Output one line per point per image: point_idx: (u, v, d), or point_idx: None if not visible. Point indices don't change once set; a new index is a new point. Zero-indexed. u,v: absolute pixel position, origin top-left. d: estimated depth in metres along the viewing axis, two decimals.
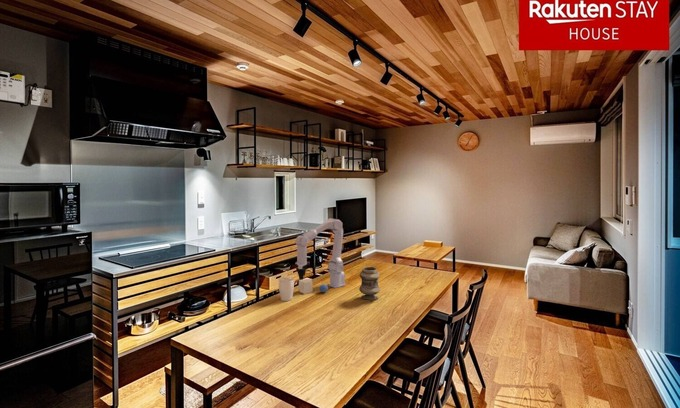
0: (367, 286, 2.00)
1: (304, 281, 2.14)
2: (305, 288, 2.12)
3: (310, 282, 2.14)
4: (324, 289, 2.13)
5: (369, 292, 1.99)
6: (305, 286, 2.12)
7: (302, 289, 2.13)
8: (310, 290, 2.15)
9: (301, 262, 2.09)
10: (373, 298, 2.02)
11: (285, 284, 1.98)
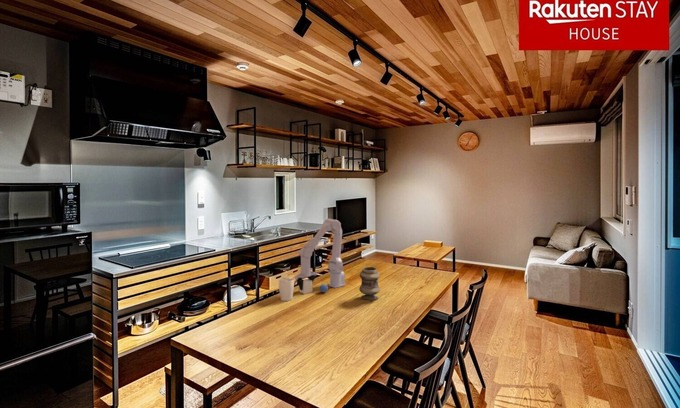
0: (367, 286, 2.00)
1: (304, 281, 2.14)
2: (305, 288, 2.12)
3: (310, 282, 2.14)
4: (324, 289, 2.13)
5: (369, 292, 1.99)
6: (305, 286, 2.12)
7: None
8: (310, 290, 2.15)
9: (301, 273, 2.13)
10: (373, 298, 2.02)
11: (285, 284, 1.98)
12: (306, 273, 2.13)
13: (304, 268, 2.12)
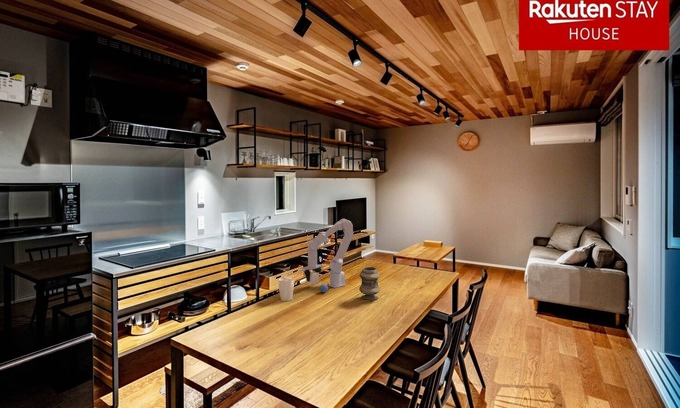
0: (367, 286, 2.00)
1: (311, 273, 2.22)
2: (312, 280, 2.20)
3: (317, 274, 2.22)
4: (324, 289, 2.13)
5: (369, 292, 1.99)
6: (312, 278, 2.20)
7: None
8: (317, 282, 2.23)
9: (309, 265, 2.21)
10: (373, 298, 2.02)
11: (285, 284, 1.98)
12: (313, 265, 2.20)
13: (311, 260, 2.20)
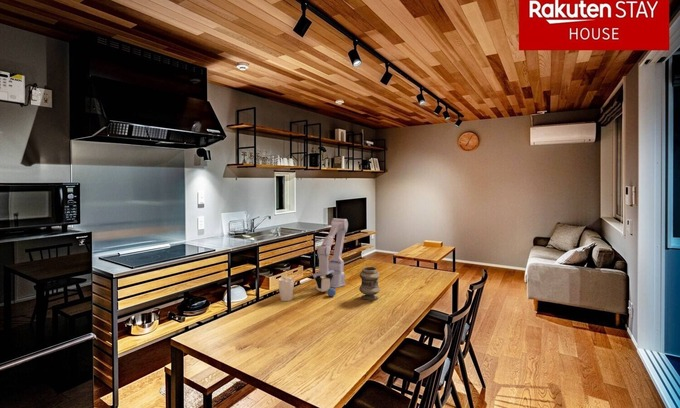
0: (367, 286, 2.00)
1: (322, 279, 2.13)
2: (322, 286, 2.11)
3: (328, 280, 2.14)
4: None
5: (369, 292, 1.99)
6: (323, 284, 2.11)
7: None
8: (328, 288, 2.14)
9: (320, 271, 2.12)
10: (373, 298, 2.02)
11: (285, 284, 1.98)
12: (324, 271, 2.11)
13: (322, 266, 2.11)
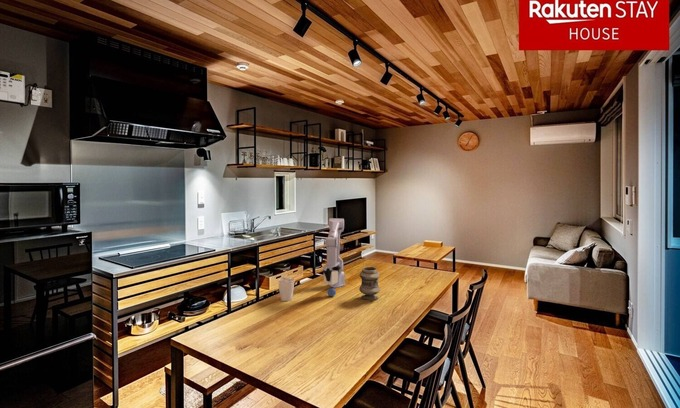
0: (367, 286, 2.00)
1: None
2: (332, 279, 2.05)
3: (336, 272, 2.08)
4: None
5: (369, 292, 1.99)
6: (332, 276, 2.05)
7: None
8: (336, 280, 2.08)
9: (328, 264, 2.05)
10: (373, 298, 2.02)
11: (285, 284, 1.98)
12: (334, 263, 2.05)
13: (332, 258, 2.04)
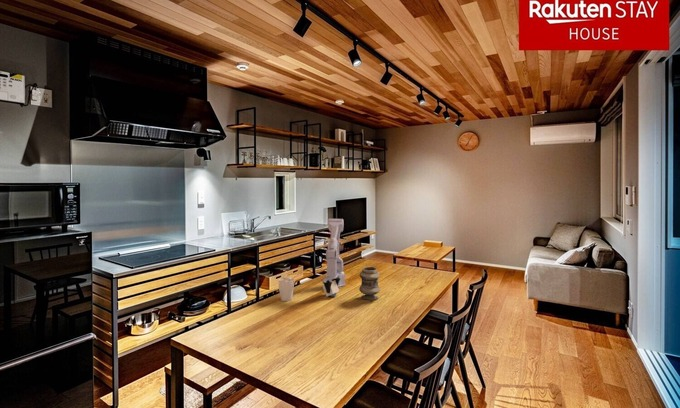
0: (367, 286, 2.00)
1: None
2: (332, 288, 2.05)
3: (334, 281, 2.09)
4: None
5: (369, 292, 1.99)
6: (331, 286, 2.06)
7: None
8: (337, 289, 2.08)
9: (328, 275, 2.05)
10: (373, 298, 2.02)
11: (285, 284, 1.98)
12: (334, 275, 2.05)
13: (332, 270, 2.05)
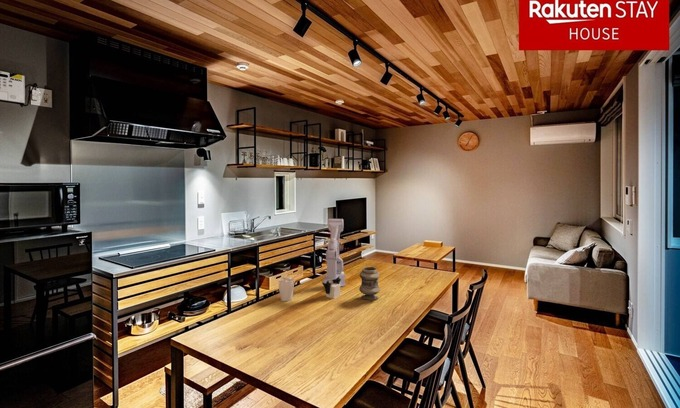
0: (367, 286, 2.00)
1: (333, 285, 2.06)
2: (334, 293, 2.04)
3: (338, 286, 2.07)
4: None
5: (369, 292, 1.99)
6: (335, 290, 2.04)
7: (331, 294, 2.05)
8: (338, 294, 2.08)
9: (328, 276, 2.06)
10: (373, 298, 2.02)
11: (285, 284, 1.98)
12: (334, 276, 2.05)
13: (332, 271, 2.05)
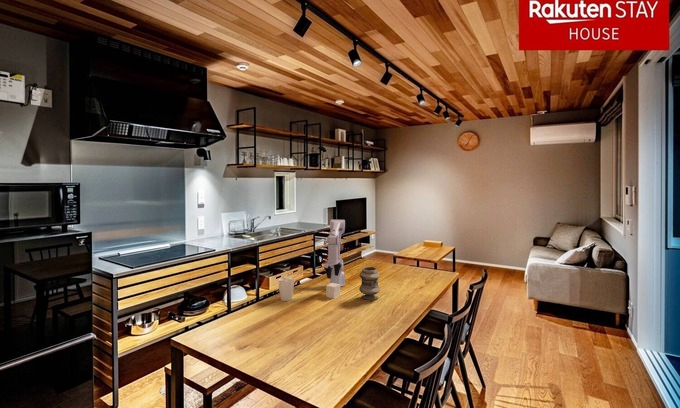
0: (367, 286, 2.00)
1: (333, 285, 2.06)
2: (334, 293, 2.04)
3: (338, 286, 2.07)
4: None
5: (369, 292, 1.99)
6: (335, 290, 2.04)
7: (331, 294, 2.05)
8: (338, 294, 2.08)
9: (330, 261, 2.11)
10: (373, 298, 2.02)
11: (285, 284, 1.98)
12: (335, 261, 2.10)
13: (333, 256, 2.10)
